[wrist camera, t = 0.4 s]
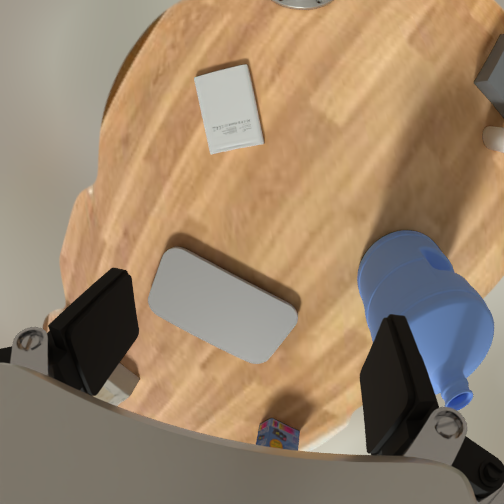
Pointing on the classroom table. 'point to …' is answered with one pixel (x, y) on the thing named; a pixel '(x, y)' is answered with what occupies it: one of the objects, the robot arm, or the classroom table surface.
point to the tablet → (220, 306)
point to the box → (118, 386)
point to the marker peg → (494, 138)
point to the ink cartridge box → (277, 435)
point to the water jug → (428, 308)
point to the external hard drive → (229, 109)
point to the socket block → (493, 76)
